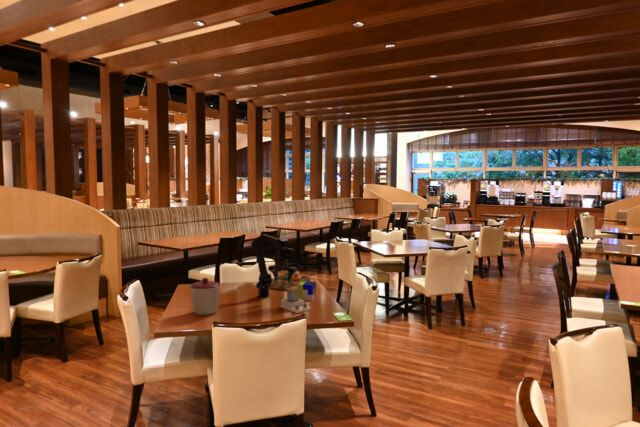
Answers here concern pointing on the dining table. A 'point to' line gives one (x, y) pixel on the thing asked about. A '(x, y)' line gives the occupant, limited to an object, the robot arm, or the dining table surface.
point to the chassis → (295, 305)
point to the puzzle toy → (306, 290)
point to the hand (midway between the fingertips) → (282, 281)
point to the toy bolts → (294, 277)
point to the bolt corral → (284, 284)
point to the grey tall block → (292, 294)
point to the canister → (205, 296)
